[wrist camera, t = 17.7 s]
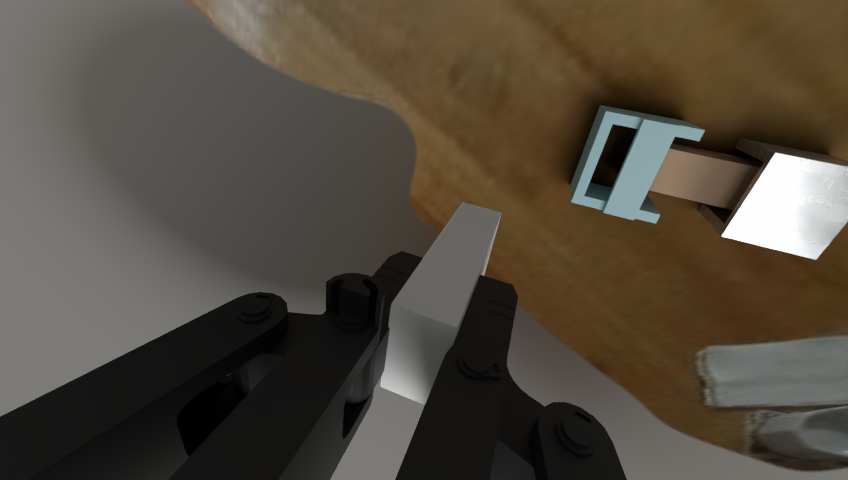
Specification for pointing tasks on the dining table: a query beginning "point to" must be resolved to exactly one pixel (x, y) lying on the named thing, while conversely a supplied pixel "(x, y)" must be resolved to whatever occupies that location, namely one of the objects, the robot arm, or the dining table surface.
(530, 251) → the dining table surface
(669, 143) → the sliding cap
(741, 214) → the end cap
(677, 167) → the batten
